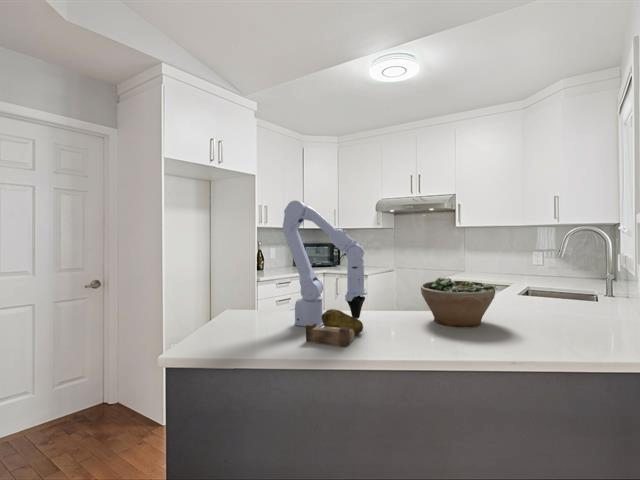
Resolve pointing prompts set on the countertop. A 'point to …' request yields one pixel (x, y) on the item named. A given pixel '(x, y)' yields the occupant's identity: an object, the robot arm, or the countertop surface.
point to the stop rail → (327, 335)
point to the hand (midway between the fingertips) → (355, 318)
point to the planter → (458, 301)
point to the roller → (351, 333)
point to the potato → (341, 320)
